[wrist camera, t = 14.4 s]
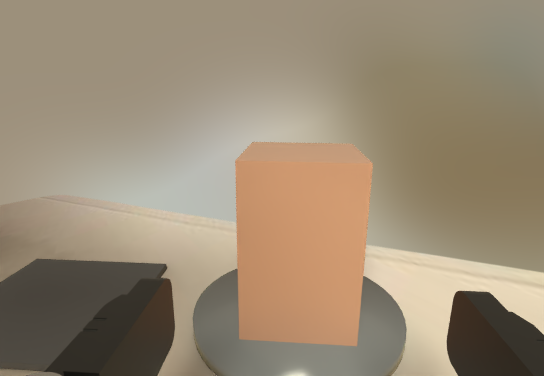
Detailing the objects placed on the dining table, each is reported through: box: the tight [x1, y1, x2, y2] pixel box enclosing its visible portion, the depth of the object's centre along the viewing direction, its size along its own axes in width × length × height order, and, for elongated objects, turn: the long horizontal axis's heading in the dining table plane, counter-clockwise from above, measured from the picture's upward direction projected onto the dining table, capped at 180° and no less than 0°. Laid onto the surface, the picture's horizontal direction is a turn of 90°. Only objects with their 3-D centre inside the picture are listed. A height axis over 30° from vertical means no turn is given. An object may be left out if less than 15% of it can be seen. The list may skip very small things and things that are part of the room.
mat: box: [0, 259, 167, 371], centre depth 23 cm, size 11×11×1 cm
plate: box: [193, 269, 406, 376], centre depth 22 cm, size 13×13×1 cm
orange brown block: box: [235, 142, 373, 346], centre depth 21 cm, size 6×6×10 cm
